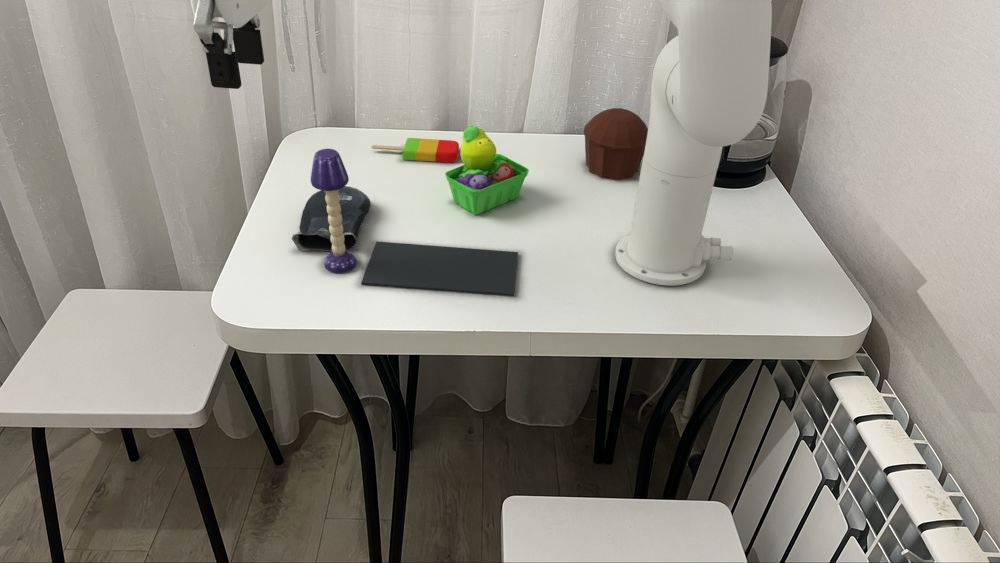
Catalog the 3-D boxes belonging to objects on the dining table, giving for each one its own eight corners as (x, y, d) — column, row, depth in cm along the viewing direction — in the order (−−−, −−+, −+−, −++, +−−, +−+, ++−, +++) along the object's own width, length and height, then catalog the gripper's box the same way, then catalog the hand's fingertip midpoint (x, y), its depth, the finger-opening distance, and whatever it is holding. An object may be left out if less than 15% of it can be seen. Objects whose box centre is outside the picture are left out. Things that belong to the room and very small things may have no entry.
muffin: (583, 149, 134) (590, 96, 128) (645, 157, 132) (655, 104, 126) (575, 179, 124) (582, 123, 118) (642, 188, 123) (652, 132, 117)
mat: (517, 254, 105) (517, 251, 104) (514, 296, 97) (514, 294, 96) (376, 243, 105) (376, 241, 105) (361, 284, 97) (361, 282, 97)
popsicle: (457, 163, 126) (457, 153, 125) (368, 158, 126) (368, 148, 125) (459, 149, 131) (459, 140, 130) (374, 144, 131) (373, 134, 130)
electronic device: (364, 260, 104) (374, 195, 115) (356, 230, 100) (367, 165, 111) (299, 265, 104) (315, 200, 115) (288, 235, 100) (305, 170, 111)
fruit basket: (474, 222, 111) (476, 153, 105) (437, 198, 116) (437, 131, 110) (529, 199, 118) (534, 133, 111) (491, 178, 123) (495, 113, 116)
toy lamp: (348, 278, 98) (338, 163, 88) (314, 272, 99) (301, 158, 89) (360, 258, 102) (352, 146, 92) (328, 253, 103) (317, 141, 93)
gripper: (217, -78, 68) (246, 106, 78) (275, -108, 82) (293, 52, 93) (136, -84, 68) (175, 101, 79) (208, -112, 82) (233, 48, 93)
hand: (239, 73), depth 86 cm, fingers open, 7 cm apart
